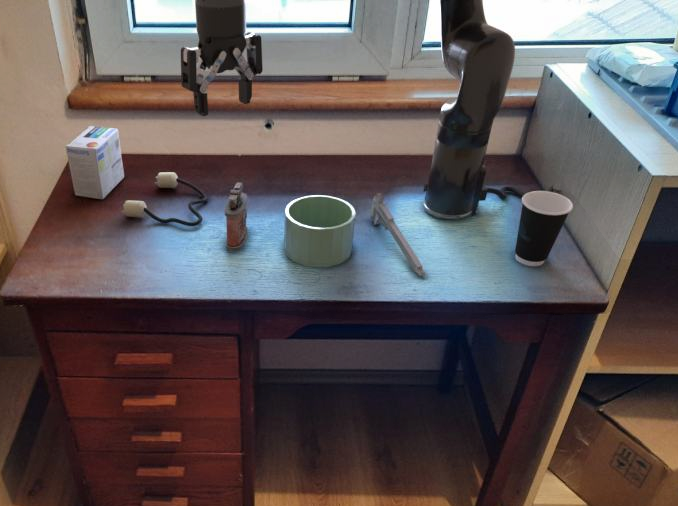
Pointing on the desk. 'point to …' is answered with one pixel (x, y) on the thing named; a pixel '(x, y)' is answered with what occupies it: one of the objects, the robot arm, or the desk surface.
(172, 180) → the cable
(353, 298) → the desk surface
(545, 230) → the dixie cup
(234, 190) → the lighter
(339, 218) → the pencil cup
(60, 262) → the desk surface
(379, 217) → the caliper
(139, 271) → the desk surface
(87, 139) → the light bulb box
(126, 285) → the desk surface
